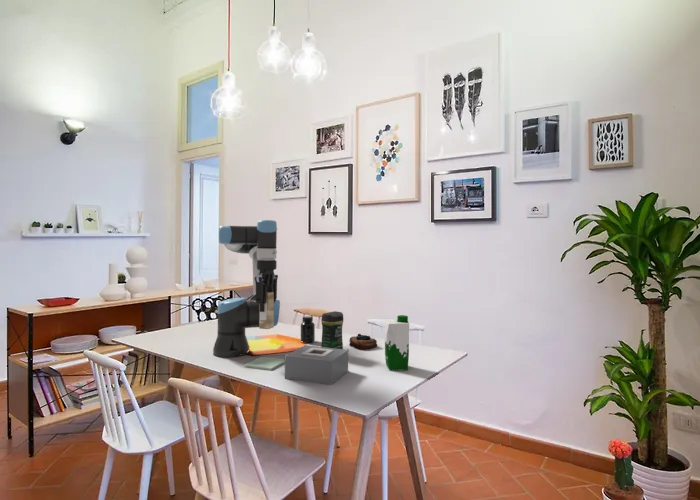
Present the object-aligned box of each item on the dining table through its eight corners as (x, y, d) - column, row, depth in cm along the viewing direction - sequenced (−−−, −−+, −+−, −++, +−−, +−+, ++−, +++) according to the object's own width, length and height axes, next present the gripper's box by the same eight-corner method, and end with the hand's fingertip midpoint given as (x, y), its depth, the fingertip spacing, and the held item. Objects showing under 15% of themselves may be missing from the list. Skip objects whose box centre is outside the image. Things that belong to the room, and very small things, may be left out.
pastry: (365, 342, 197) (365, 330, 197) (380, 348, 187) (380, 335, 187) (346, 345, 191) (346, 333, 191) (360, 351, 181) (361, 338, 181)
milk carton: (410, 370, 154) (411, 318, 153) (387, 371, 153) (387, 318, 152) (405, 364, 162) (406, 314, 162) (383, 364, 161) (383, 314, 161)
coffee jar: (331, 359, 168) (332, 314, 168) (317, 355, 173) (318, 312, 173) (346, 354, 176) (346, 311, 175) (332, 351, 181) (332, 309, 180)
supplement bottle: (316, 340, 199) (317, 316, 199) (311, 344, 193) (311, 318, 193) (304, 339, 202) (304, 315, 201) (298, 342, 195) (298, 317, 195)
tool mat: (244, 366, 157) (244, 364, 157) (261, 358, 168) (261, 356, 168) (271, 370, 153) (271, 368, 153) (287, 361, 164) (287, 359, 164)
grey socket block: (284, 378, 144) (284, 354, 144) (305, 365, 159) (305, 344, 159) (331, 384, 138) (331, 360, 137) (348, 371, 153) (348, 348, 153)
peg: (259, 328, 159) (259, 292, 158) (264, 326, 162) (265, 291, 162) (268, 329, 157) (268, 293, 157) (273, 327, 161) (273, 292, 161)
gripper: (263, 260, 150) (262, 323, 150) (285, 259, 166) (285, 316, 167) (246, 260, 153) (245, 322, 153) (270, 258, 169) (269, 314, 169)
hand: (266, 318), depth 160 cm, fingers closed on peg, 4 cm apart
